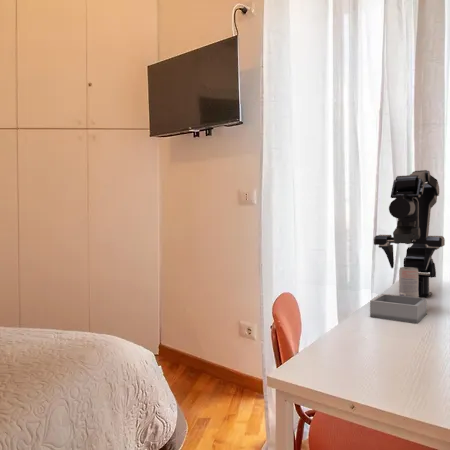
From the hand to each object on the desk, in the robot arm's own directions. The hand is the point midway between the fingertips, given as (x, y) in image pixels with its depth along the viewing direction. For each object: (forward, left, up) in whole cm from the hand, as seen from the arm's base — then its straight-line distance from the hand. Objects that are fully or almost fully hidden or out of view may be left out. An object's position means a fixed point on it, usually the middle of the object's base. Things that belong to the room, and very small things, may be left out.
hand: (408, 269), depth 122 cm
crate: (+11, 0, -12) cm, 16 cm away
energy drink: (-1, 0, -12) cm, 12 cm away
